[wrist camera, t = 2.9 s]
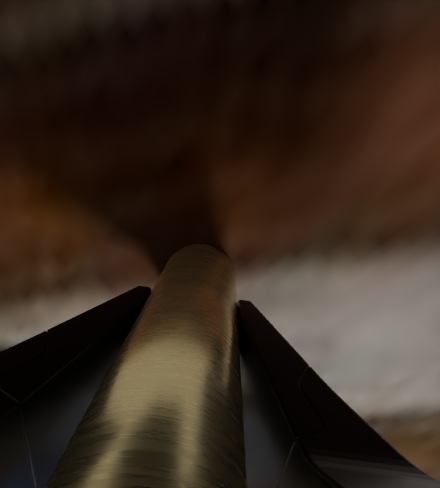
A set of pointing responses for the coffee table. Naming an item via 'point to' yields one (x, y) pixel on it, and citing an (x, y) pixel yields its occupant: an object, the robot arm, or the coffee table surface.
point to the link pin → (169, 390)
